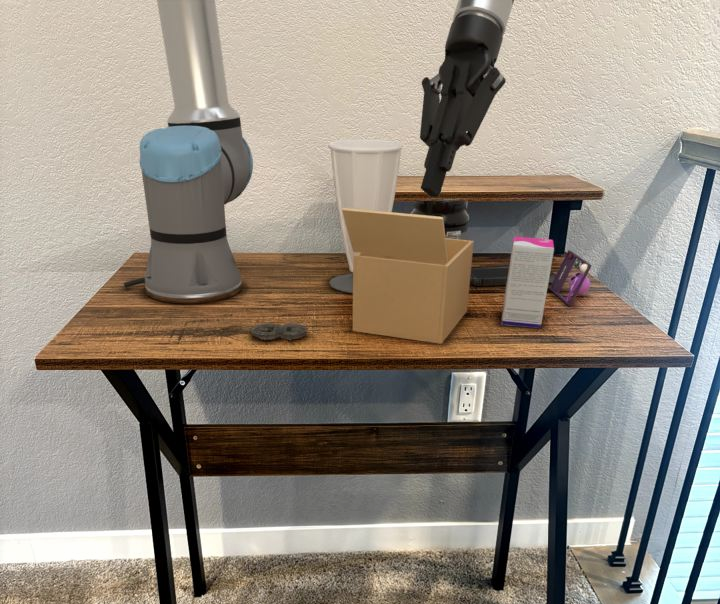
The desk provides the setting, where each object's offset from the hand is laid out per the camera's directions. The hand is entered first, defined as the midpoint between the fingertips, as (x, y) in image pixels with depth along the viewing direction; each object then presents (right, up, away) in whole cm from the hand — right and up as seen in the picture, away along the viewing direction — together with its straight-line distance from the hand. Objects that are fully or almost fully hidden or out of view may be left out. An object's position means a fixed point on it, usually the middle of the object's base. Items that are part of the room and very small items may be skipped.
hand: (429, 192), depth 102 cm
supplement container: (+4, -1, +32) cm, 32 cm away
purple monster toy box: (+25, -11, +16) cm, 31 cm away
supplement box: (+14, -17, +6) cm, 23 cm away
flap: (-5, -9, -10) cm, 15 cm away
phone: (+16, -5, +24) cm, 29 cm away
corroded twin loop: (-21, -21, -2) cm, 29 cm away
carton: (-2, -17, +5) cm, 18 cm away
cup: (-9, -8, +20) cm, 24 cm away
